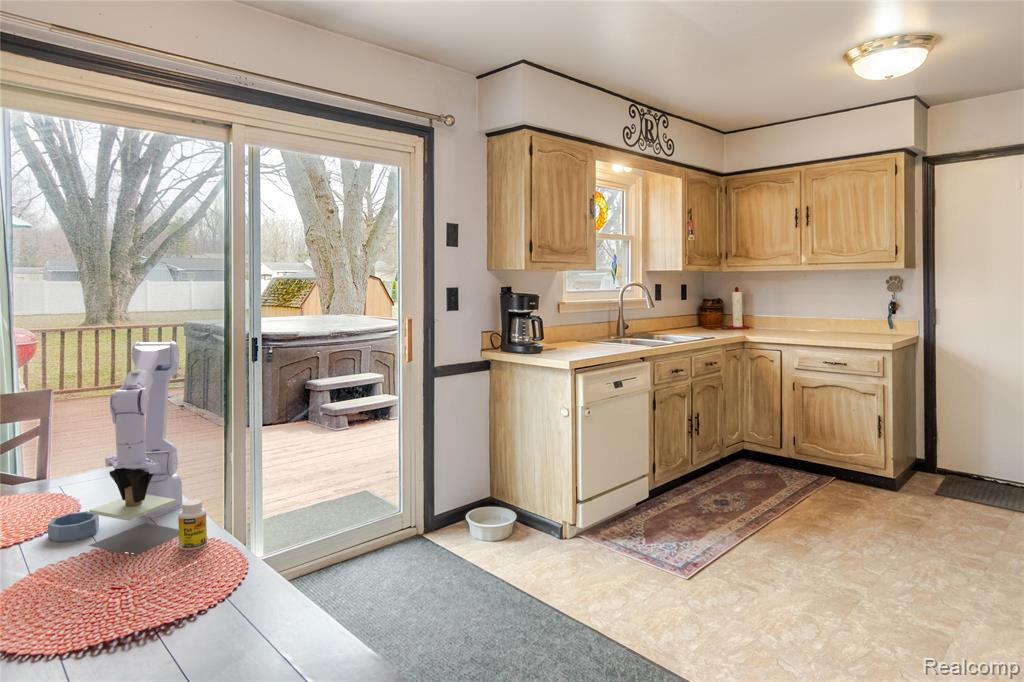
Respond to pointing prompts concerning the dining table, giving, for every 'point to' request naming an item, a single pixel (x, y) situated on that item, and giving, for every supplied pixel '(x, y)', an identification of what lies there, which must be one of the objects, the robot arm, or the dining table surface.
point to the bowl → (73, 526)
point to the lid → (132, 506)
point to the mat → (138, 539)
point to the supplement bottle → (192, 525)
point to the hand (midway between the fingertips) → (133, 499)
